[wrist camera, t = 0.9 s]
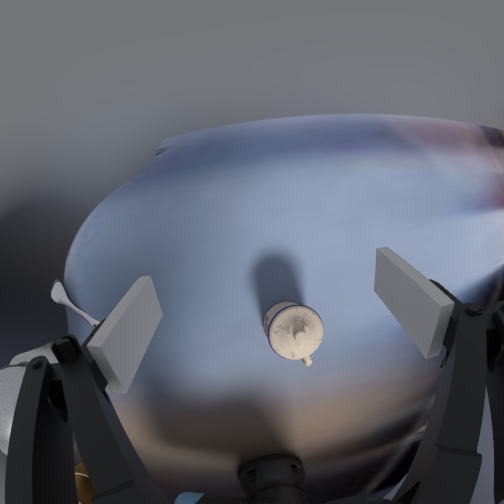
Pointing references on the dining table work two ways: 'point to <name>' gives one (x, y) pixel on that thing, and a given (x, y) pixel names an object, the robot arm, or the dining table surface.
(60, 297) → the stirrer
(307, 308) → the teacup with lid
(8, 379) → the lid
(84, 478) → the plant pot
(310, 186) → the dining table surface
